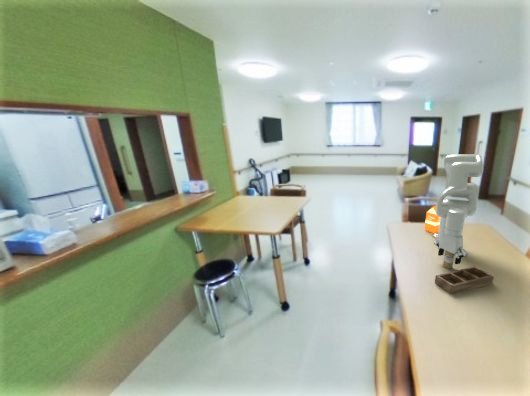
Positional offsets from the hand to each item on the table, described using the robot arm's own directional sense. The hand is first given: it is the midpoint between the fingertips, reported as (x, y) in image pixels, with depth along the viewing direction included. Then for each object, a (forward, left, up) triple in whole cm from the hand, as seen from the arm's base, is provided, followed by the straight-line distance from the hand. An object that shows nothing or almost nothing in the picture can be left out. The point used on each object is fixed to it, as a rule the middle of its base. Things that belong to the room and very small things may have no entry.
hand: (448, 259), depth 130 cm
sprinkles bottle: (0, 0, -5) cm, 5 cm away
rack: (+14, -7, -5) cm, 16 cm away
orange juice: (-40, +34, -5) cm, 53 cm away
